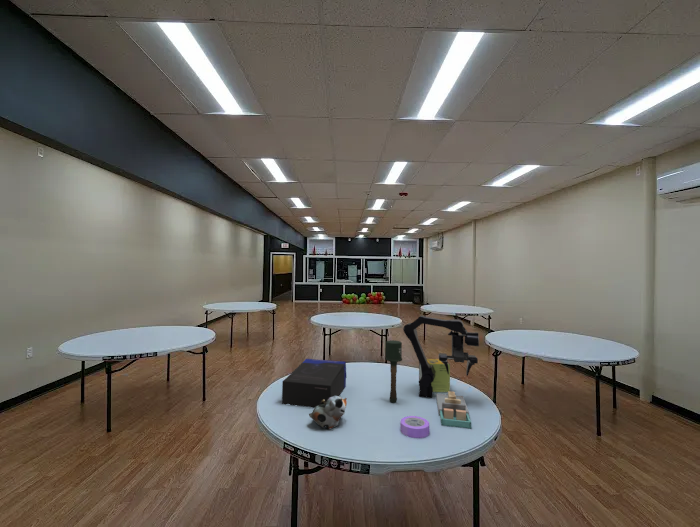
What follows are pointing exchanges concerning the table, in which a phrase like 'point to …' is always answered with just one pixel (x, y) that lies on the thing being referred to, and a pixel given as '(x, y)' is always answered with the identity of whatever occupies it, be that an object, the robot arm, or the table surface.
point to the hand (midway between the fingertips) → (457, 375)
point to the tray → (456, 422)
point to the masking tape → (414, 427)
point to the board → (441, 398)
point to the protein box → (439, 376)
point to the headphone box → (314, 382)
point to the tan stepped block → (453, 402)
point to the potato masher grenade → (393, 364)
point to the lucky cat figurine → (329, 412)
